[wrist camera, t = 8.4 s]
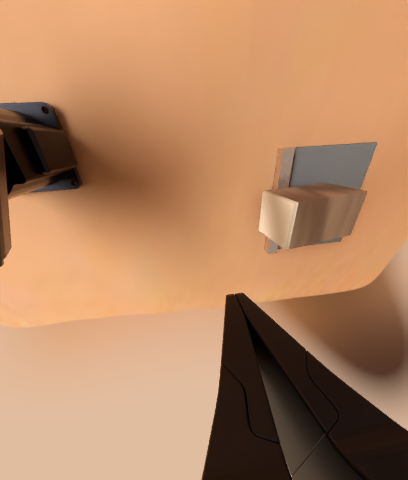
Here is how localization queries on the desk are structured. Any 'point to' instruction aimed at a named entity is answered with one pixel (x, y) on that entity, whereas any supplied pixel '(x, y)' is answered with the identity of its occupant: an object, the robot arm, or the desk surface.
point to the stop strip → (281, 183)
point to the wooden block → (309, 213)
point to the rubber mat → (331, 167)
